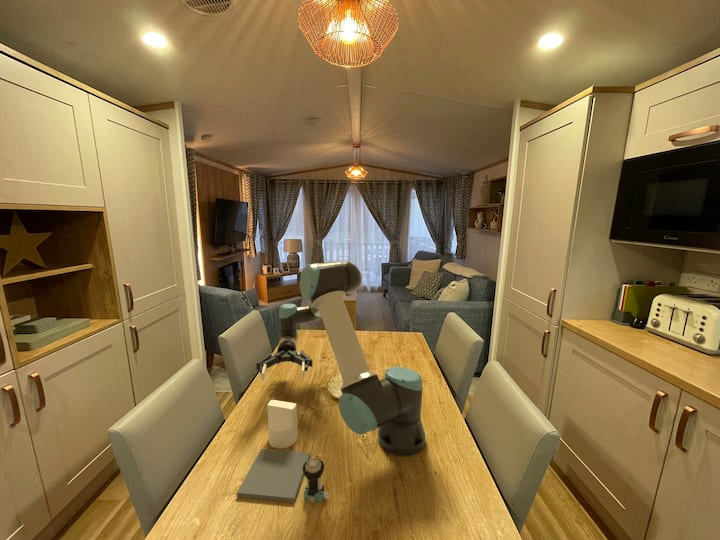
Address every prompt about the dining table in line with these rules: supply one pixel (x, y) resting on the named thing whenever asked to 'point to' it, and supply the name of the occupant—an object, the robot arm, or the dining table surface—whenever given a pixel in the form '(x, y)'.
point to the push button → (314, 480)
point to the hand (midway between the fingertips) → (283, 375)
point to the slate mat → (274, 475)
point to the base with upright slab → (282, 423)
